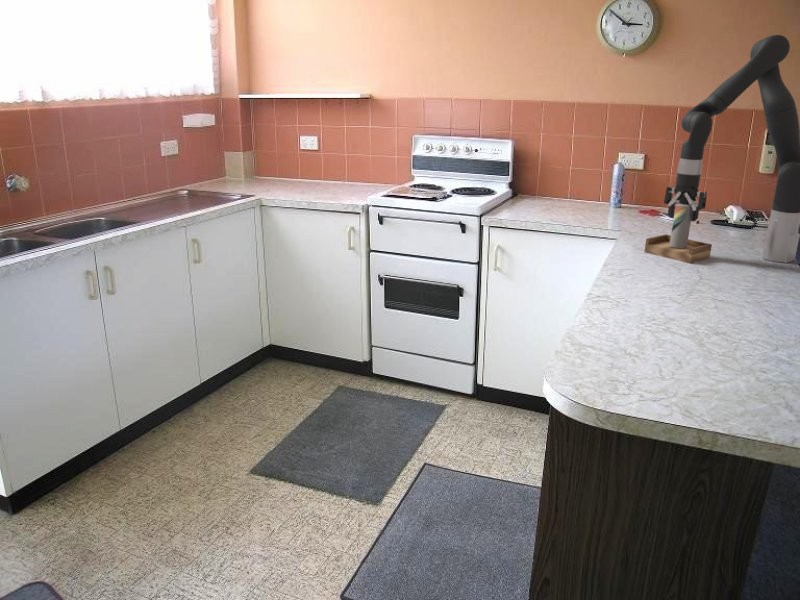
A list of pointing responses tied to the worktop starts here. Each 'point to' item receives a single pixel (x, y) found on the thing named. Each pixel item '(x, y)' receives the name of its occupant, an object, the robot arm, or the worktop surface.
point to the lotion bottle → (681, 223)
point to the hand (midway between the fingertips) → (682, 218)
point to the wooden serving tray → (689, 254)
